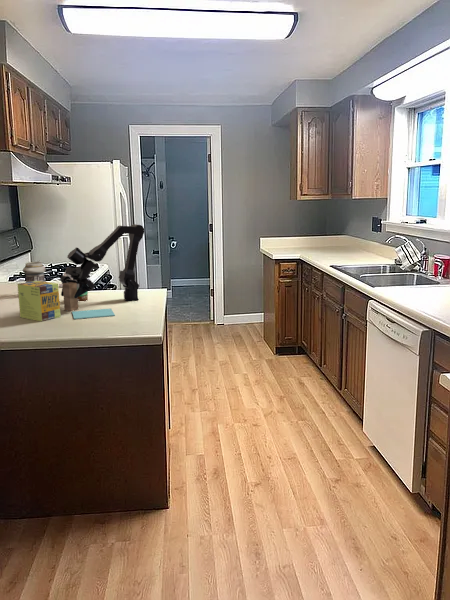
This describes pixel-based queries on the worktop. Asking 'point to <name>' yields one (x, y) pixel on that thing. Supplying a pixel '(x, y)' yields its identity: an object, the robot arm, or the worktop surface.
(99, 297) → the worktop surface
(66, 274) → the portable electronic device stand
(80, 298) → the food container
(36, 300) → the protein box
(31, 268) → the apothecary jar
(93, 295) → the worktop surface
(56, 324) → the worktop surface
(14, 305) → the worktop surface
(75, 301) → the walnut block
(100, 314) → the teal mat
